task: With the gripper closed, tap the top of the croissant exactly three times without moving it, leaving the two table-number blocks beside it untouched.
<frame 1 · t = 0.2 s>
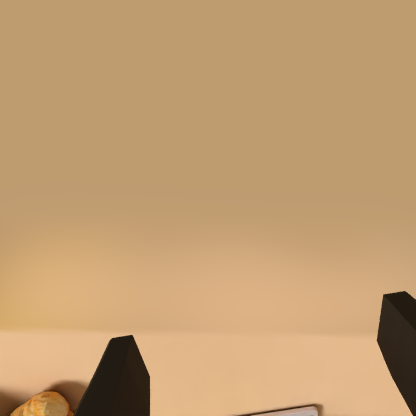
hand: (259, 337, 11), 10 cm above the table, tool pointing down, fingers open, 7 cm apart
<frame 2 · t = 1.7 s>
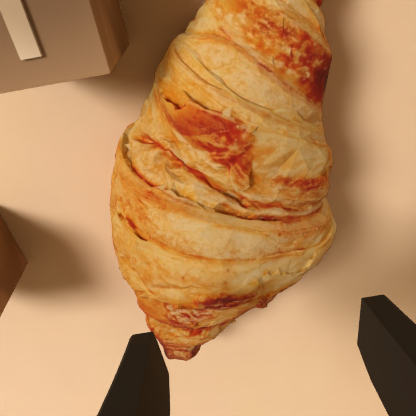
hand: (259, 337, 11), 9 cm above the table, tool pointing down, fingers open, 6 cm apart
croissant: (221, 175, 19), on the table
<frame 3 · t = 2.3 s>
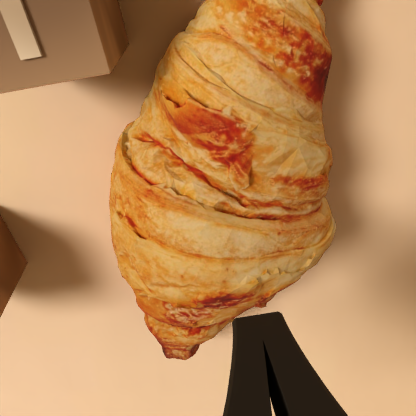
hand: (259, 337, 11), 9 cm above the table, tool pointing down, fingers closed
croissant: (221, 175, 19), on the table
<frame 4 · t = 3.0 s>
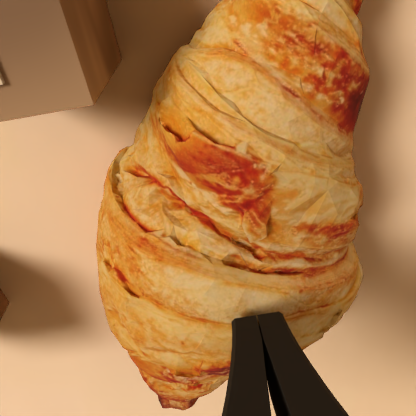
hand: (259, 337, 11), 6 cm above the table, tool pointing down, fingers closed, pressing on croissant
croissant: (227, 205, 17), on the table, touching gripper
number block one: (40, 3, 12), on the table
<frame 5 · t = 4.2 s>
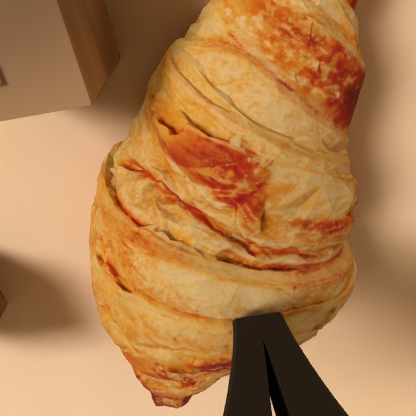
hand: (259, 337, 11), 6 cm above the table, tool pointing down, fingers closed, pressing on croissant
croissant: (222, 202, 17), on the table, touching gripper
number block one: (38, 3, 12), on the table
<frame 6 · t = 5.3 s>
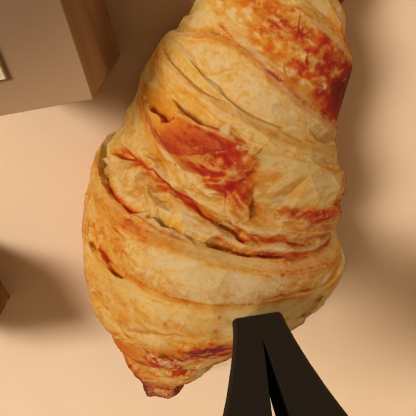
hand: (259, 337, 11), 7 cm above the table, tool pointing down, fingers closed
croissant: (214, 194, 17), on the table
number block one: (40, 2, 12), on the table
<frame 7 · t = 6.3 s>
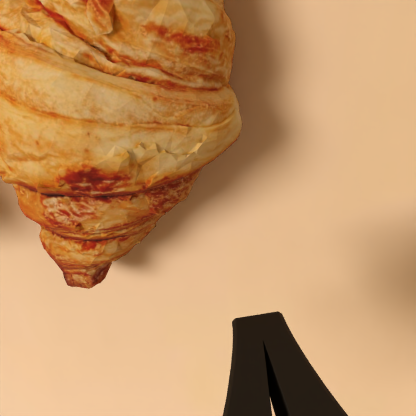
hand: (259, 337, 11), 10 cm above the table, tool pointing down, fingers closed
croissant: (126, 72, 17), on the table
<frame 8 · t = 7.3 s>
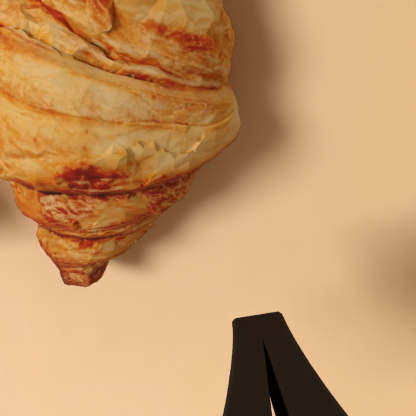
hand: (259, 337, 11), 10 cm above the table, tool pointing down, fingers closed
croissant: (125, 70, 17), on the table
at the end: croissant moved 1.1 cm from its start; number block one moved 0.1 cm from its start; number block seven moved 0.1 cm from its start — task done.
